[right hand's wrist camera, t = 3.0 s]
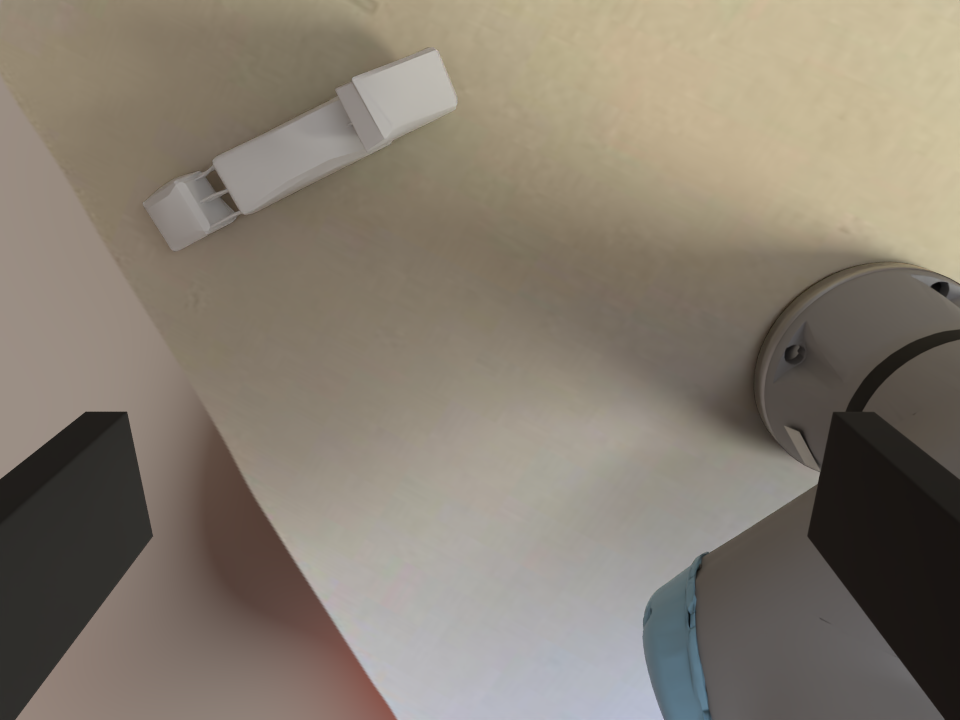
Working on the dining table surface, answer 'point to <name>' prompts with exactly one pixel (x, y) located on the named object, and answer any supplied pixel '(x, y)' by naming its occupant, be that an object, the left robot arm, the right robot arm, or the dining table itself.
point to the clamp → (306, 147)
